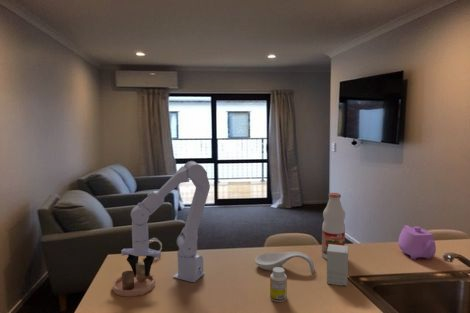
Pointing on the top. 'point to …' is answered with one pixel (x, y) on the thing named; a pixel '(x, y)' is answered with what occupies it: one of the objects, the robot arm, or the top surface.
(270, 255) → the spoon rest
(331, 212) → the fruit juice
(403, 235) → the purple animal planter
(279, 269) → the supplement bottle
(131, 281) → the brown short cylinder
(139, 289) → the dish
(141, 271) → the beige tall rounded piece
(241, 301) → the top surface
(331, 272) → the supplement box
